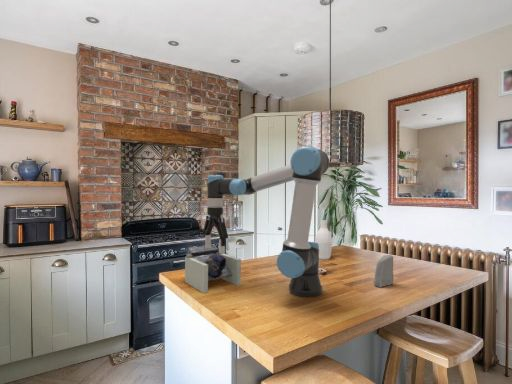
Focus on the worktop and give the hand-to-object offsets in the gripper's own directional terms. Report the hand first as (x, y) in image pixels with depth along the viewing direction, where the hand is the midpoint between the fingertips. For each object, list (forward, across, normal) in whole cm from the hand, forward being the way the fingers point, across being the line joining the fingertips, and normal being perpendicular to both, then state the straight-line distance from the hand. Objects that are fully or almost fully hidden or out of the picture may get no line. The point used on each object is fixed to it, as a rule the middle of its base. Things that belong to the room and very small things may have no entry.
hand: (214, 250), depth 152 cm
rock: (+9, +2, 0) cm, 9 cm away
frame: (+17, +2, 0) cm, 17 cm away
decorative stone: (+17, -49, -67) cm, 85 cm away
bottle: (+17, +8, -89) cm, 91 cm away
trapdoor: (+11, +8, 0) cm, 14 cm away
